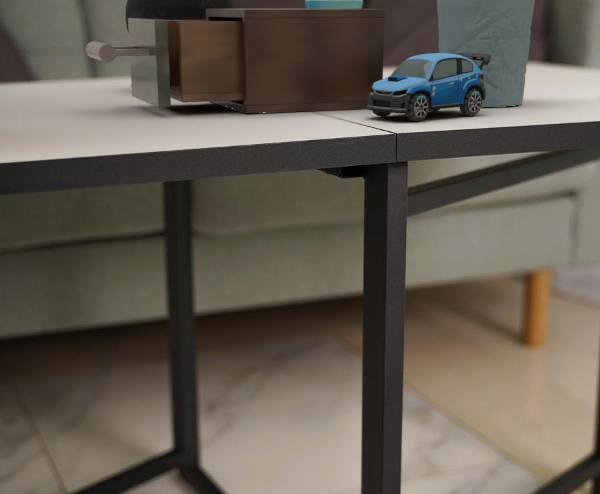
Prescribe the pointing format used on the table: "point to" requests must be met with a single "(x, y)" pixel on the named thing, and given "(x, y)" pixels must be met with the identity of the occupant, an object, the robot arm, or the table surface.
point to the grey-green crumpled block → (490, 42)
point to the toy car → (431, 86)
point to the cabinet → (307, 58)
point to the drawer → (181, 60)
